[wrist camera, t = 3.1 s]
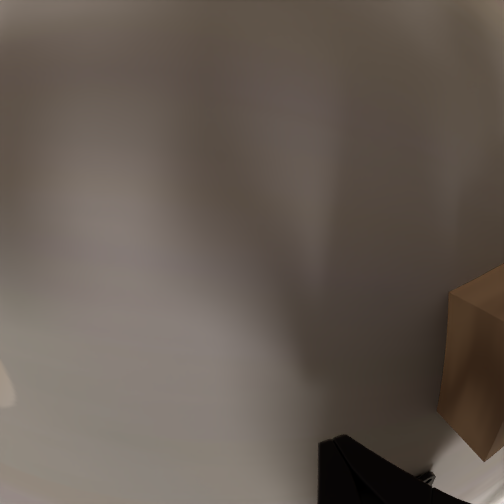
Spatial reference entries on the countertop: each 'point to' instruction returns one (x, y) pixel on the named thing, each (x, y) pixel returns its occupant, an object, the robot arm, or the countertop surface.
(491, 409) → the walnut block
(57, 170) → the countertop surface
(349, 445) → the robot arm
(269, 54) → the countertop surface
